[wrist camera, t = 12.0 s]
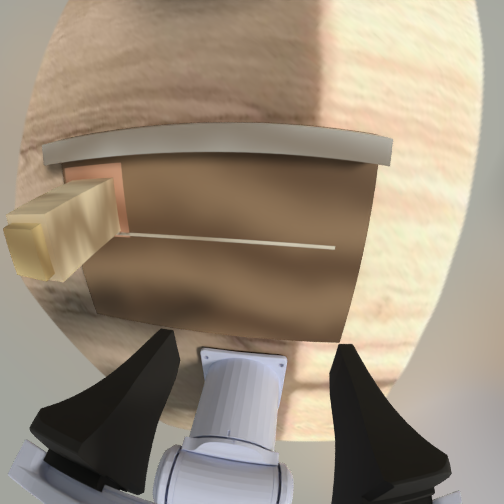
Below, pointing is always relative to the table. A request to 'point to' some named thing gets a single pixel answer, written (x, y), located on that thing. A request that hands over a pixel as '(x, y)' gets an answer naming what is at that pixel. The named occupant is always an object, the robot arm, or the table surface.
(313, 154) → the board
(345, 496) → the robot arm
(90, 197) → the tan block
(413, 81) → the table surface
